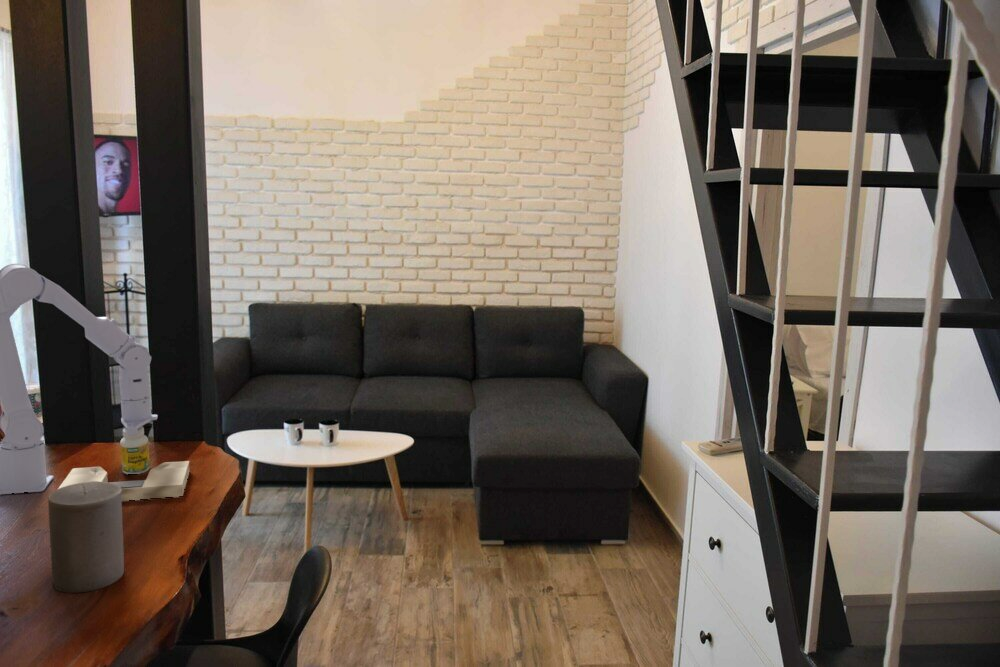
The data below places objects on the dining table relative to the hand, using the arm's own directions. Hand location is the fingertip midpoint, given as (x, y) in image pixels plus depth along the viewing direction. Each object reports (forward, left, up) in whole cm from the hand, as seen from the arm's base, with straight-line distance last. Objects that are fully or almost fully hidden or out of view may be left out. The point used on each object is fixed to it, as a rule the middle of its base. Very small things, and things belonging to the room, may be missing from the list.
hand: (139, 457), depth 157 cm
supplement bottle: (0, -3, -2) cm, 4 cm away
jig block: (0, -13, -2) cm, 13 cm away
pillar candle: (+1, -50, -2) cm, 50 cm away
